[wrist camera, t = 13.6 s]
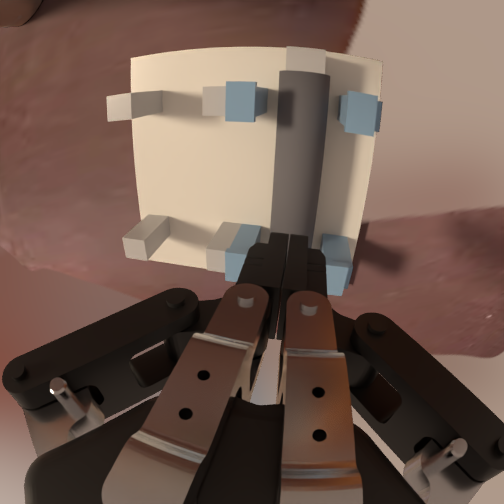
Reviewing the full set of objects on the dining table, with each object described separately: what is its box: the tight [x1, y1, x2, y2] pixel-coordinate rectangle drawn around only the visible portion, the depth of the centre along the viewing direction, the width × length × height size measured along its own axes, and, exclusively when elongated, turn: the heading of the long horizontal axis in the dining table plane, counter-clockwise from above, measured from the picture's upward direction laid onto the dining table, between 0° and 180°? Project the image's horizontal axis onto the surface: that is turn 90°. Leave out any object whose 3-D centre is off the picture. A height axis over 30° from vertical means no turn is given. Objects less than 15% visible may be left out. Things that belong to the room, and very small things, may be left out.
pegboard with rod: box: [107, 47, 383, 296], centre depth 22 cm, size 21×21×6 cm
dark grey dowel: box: [269, 46, 330, 261], centre depth 22 cm, size 20×4×4 cm, turn 178°
